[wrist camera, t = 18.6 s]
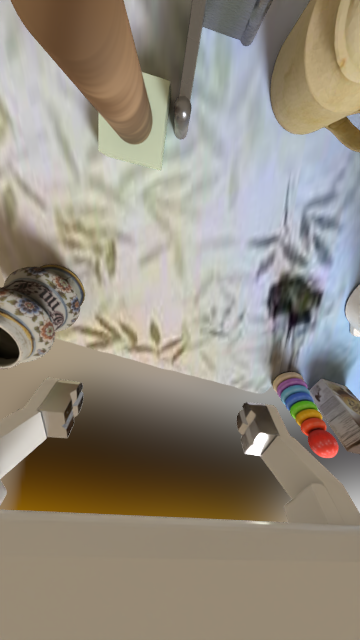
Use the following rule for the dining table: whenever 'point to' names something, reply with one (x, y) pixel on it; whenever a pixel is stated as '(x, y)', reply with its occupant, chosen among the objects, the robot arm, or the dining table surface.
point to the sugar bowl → (320, 72)
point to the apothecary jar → (36, 311)
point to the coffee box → (339, 412)
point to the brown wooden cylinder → (95, 57)
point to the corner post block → (221, 16)
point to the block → (153, 146)
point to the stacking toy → (305, 413)
